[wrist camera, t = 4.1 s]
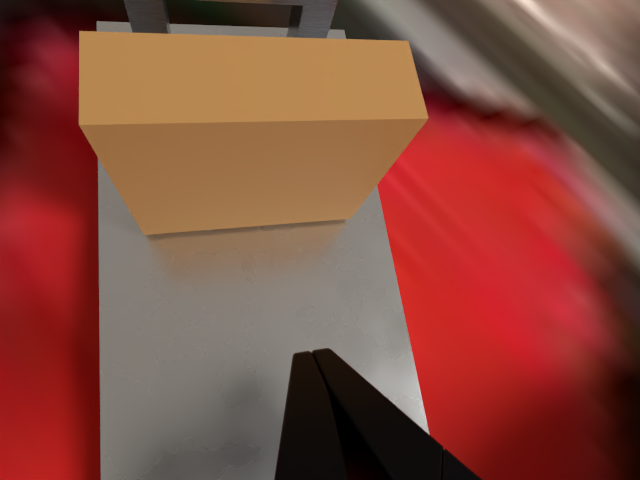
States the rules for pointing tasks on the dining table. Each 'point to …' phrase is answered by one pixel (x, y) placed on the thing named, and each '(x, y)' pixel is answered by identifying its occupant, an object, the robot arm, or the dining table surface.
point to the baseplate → (234, 314)
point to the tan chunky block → (245, 124)
